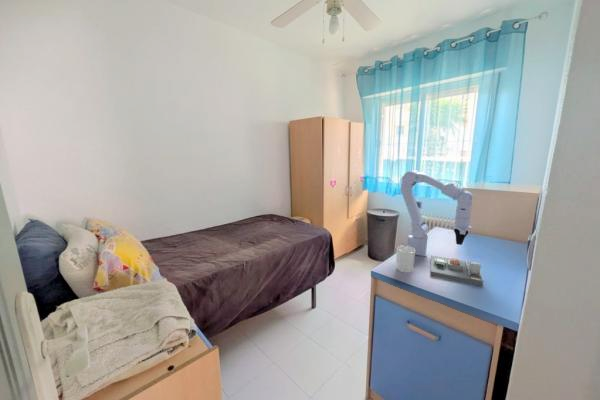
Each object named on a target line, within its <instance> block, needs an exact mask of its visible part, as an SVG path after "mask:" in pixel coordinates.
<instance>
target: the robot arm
mask: <svg viewBox="0 0 600 400" xmlns="http://www.w3.org/2000/svg"><path fill="white" fill-rule="evenodd" d="M417 183H424V184H426V185H427V184H428V185H430V186H432V187H434V188H436V189H438V190H440V192H441V194H442V195H445V196H446V197H449V198H451V200H456V202H457V206H456V210H455V219H454V224H453V227H454V228H453V232H454V234H455V243H456V245H461V246H462V245H463V242H464V241H465V238H466V237H467V235H468V234H469V230H472V226H471V225H470V221H471V212H472V202H473V201H474V194H473V192H471V191H470V190H466V189H465V188H460V187H458V186H456V185H455V183H453V182H451V183H450V182H446V183H444V182H441V181H440V180H439V179H436V178H434V177H433V176H431V175H429V174H427V173H425V172H423V171H419V170H417V169H414V170H410V171H409V170H408V171H406V172H405V173H404V174H403V175H402V177H401V185H400V192H401V194H402V197H403V201H404V204H405V206H406V209H407V211H408V215H409V217H410V219H411V220H410V221H411V226H410V227H411V234H412V235H410V234H408V236H407V237H408V238H407V245H406V246H409V247H412V248H414V249H415V250H416V251H415V256H416V255H417V256H422V257H427V256H428V250H427V249H428V240H429V239H428V237H429V236H428V235H427V234H428V233H429V232H430V226H429V225H428V224H427V223H426V220H425V219H424V218H423V217H422V214H421V211H420V209H419V206H418V205H419V204H418V203H417V200H416V198H415V195H414V192H413V188H414V187H415V186H416V184H417Z"/></svg>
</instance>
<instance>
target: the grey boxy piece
mask: <svg viewBox="0 0 600 400" xmlns="http://www.w3.org/2000/svg"><path fill="white" fill-rule="evenodd" d="M469 262H470V267H469V271H470V272H471V274H474V275H478V272H479V273H481V267H482V266H481V265H482V264H481V263H479V262H476V263H474V262H473V261H472V262H471V261H469Z"/></svg>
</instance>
